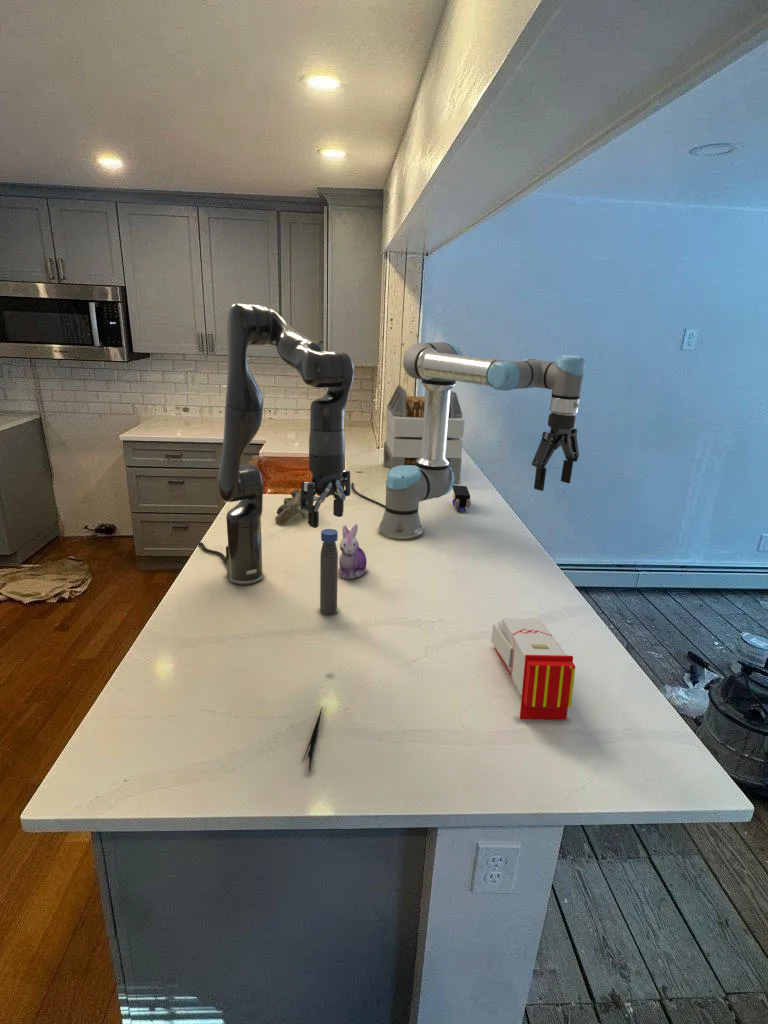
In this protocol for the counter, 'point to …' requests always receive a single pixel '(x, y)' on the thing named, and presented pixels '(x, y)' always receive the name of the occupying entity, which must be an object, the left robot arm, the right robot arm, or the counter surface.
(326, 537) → the cap
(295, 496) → the fossil
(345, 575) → the figurine
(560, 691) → the toy
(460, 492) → the figurine character
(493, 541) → the counter surface
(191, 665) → the counter surface
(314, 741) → the feather
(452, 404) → the white wooden crate
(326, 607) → the bottle
